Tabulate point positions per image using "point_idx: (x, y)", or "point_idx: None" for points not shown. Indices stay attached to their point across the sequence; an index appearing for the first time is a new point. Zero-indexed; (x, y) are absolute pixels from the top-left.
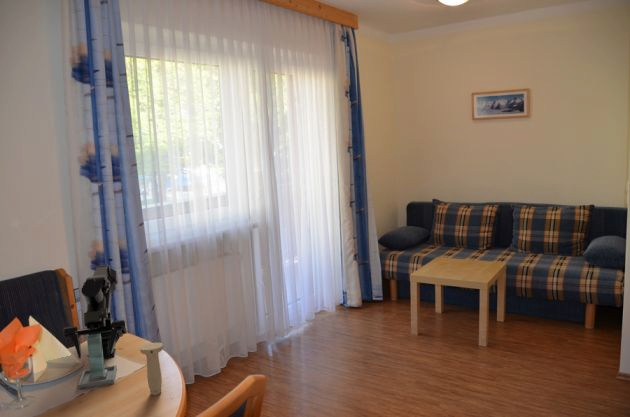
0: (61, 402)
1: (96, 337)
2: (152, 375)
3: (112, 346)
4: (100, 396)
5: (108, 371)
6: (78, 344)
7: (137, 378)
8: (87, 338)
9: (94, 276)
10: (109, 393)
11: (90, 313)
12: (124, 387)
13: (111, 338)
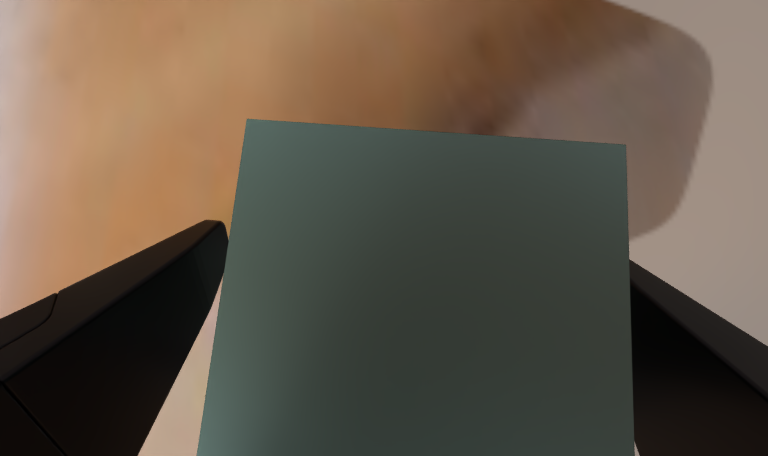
0: (591, 83)
1: (334, 178)
2: None
3: (141, 255)
4: (377, 62)
5: None
6: (761, 385)
7: (154, 199)
8: (622, 224)
9: None
10: (328, 76)
11: None
12: (242, 112)
13: (36, 348)
